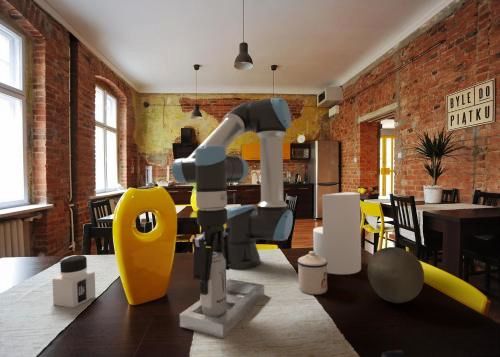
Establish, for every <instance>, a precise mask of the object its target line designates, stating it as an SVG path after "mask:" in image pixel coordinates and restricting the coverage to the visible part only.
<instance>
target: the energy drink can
mask: <svg viewBox="0 0 500 357" xmlns="http://www.w3.org/2000/svg"><path fill="white" fill-rule="evenodd" d="M210 280H212V308H207V307H203V306H202V309H203V313H204V315H206V316H211V317H215V318H219V319H220V318H221V317H222V316H223V315H224V314H225V312H226V311H227V297H226V281H227V270H226V260H225V258H224V257H223V253H222V252H213V256H212V264H211V271H210Z"/></svg>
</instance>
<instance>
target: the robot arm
mask: <svg viewBox="0 0 500 357" xmlns="http://www.w3.org/2000/svg"><path fill="white" fill-rule="evenodd" d="M291 126H292V115H291V110H290V106H289V105H288V102H287V101H286V99H284V98H283V97H269V98H266V99H265V98H263V99H258V100H251V101H250V100H249V101H245V102H242V103H240V104H239V105H237V106H236V107H234V108H232V109H231V110H229V111H228V112H227V113H226V114H225V115H224V116H223V117H222V119H221V122H220V124H218V126H217V127H216V128H214V130H213V131H212V132H211V133H210V134H209V135H208V136H207V137H206V138H205V139H204V140H203V142H201V144H200V145H198V147H196V149H194V151H193V152H192V153H191V154H189V156H188V157H180V158H176V159H175V160H174V162H173V163H172V165H171V174H172V176H173V178H174V180H175V182H177V183H184V184H195V185H196V187H195V188H196V189H195V195H196V196H195V203H196V205H195V206H196V208H198V209H197V210H196V224H197V225H198V226H199V227H200V232H199V235H198V236H197V237H192V246H193V278H192V279H193V280H194V281H198V282H199V292H200V299H201V306H203V307H207V308H212V280H210V271H211V264H212V256H213V252H222V253H223V257H224V258H225V260H226V271H230V269H237V270H240V269H241V270H244V269H251V268H255V267H257V266H259V265H260V264H261V255H260V253H259V250H258V247H257V244H256V240H267V241H274V242H276V241H279V242H280V241H281V242H282V241H283V242H284V241H286V240H287V239H288V238H289V236H290V234H291V231H292V227H293V221H294V219H293V218H294V215H293V211H292V210H291V209H289V208H288V204H287V203H286V202H285V200H284V162H283V161H284V158H283V157H284V156H283V154H284V153H283V150H284V149H283V147H284V146H283V145H284V144H283V138H284V137H285V136H286V135H287V129H289V128H290V127H291ZM249 132H255V135H256V136H257V137H258V138H259V143H260V144H259V146H260V147H259V148H260V149H259V152H260V154H259V155H260V157H259V158H260V201H259V202H258V203H257V205H256V206H255V205H254V204H248V205H240V206H234V207H229V208H228V209H227V208H226V207H227V206H228V195H227V194H228V193H227V184H228V183H229V184H231V183H233V184H236V183H239V182H242V181H244V180H245V179H246V178H247V176H248V174H249V165H248V162H247V160H245V159H244V158H243V157H241V156H237V155H227V151H226V150H227V149H228V148H229V147H230V146H231V144H232V143H233V142H234V141H235V140H236V138H240V137H241V136H242V135H244V134H245V133H249ZM256 207H257V208H256ZM224 225H225V226H226V227H225V226H224ZM226 296H227V289H226Z"/></svg>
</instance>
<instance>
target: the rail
mask: <svg viewBox="0 0 500 357" xmlns="http://www.w3.org/2000/svg"><path fill="white" fill-rule="evenodd" d="M226 289H227V296H226V297H227V311H226V312H225V314H224V315H223V316H222V317H221V318H215V317H211V316H206V315H205V314H204V313H203V309H202V306H201V298H200V299H199V300H198V301H196V302H195V303H193V304H192V305H191V306H189V307H188V308H187V309H184V310H183V311H182V312H181V313H179V327H180V328H183V329H188V330H190V331H195V332H199V333H203V334H206V335H210V336H214V337H216V338H221V339H223V338H225V337H226V336H227V334H228V333H230V332H231V330H233V328H234V327H236V326H237V324H238V323H239V322H240V321H241V320H242V319H243V318H244V317H245V316H246V315H247V314H248V313H249V311H251V309H252V308H254V306H256V304H257V303H258V302H259V301H260V300H261V299H262V298H263V297H264V296H265V284H263V283H254V282H249V281H242V280H236V279H230V278H229V279H226ZM231 293H236V294H241V295H243V297H242V296H239V295H233V294H231Z"/></svg>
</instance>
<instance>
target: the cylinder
mask: <svg viewBox="0 0 500 357" xmlns="http://www.w3.org/2000/svg"><path fill="white" fill-rule="evenodd" d="M321 197H322V199H321V202H322V203H321V205H322V206H321V210H322V212H321V213H322V215H321V216H322V226H317V227H314V228H313V229H312V230H313V231H312V232H313V233H312V234H313V251H314V252H315V253H316V255H318V256H320V257H323V258H325V259H326V260H327V263H328V264H327V274H334V275H351V274H352V275H353V274H357V273H358V272H359V273H360V271H361V270H362V246H361V242H362V240H361V238H362V236H361V234H362V233H361V228H362V227H361V194H360V192H352V191H346V192H344V191H343V192H337V193H336V192H335V193H326V194H322V195H321Z"/></svg>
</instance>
